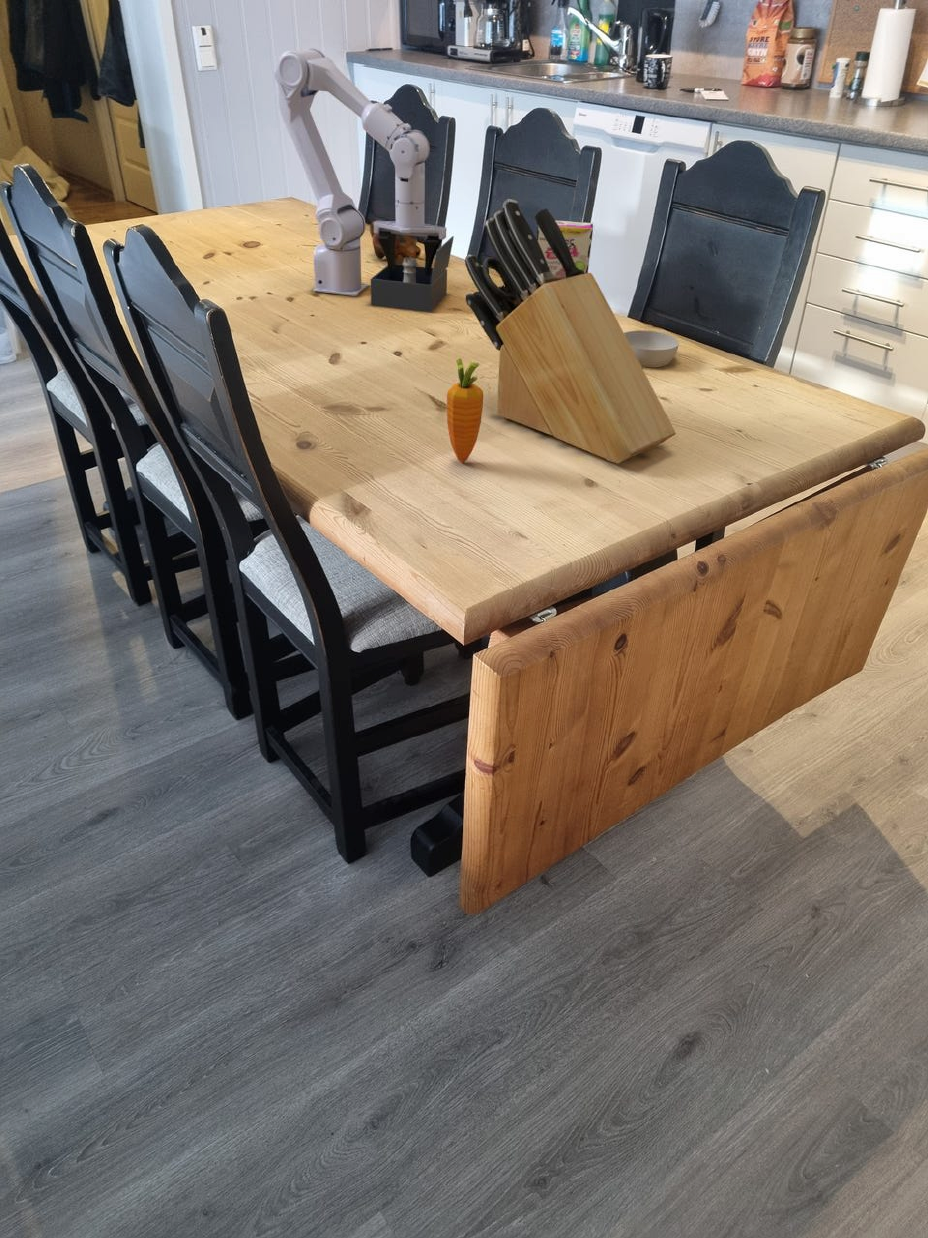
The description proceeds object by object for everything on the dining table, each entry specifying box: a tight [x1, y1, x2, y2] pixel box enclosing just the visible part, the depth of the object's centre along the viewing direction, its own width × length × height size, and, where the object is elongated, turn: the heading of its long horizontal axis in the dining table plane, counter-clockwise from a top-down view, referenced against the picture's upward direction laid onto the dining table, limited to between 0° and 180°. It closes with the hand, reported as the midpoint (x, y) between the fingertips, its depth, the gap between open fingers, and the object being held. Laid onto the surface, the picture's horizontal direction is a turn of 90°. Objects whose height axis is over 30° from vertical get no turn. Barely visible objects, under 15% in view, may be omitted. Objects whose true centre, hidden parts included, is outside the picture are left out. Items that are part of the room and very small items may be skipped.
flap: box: [431, 235, 455, 282], centre depth 187 cm, size 6×12×1 cm
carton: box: [370, 263, 448, 313], centre depth 192 cm, size 13×13×5 cm
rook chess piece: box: [401, 257, 419, 284], centre depth 191 cm, size 4×4×8 cm
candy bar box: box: [536, 219, 594, 279], centre depth 189 cm, size 11×5×16 cm, turn 84°
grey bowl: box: [623, 329, 680, 368], centre depth 169 cm, size 11×18×4 cm, turn 65°
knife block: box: [464, 198, 676, 464], centre depth 135 cm, size 11×35×31 cm, turn 45°
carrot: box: [446, 357, 484, 464], centre depth 127 cm, size 5×5×15 cm
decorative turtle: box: [369, 219, 422, 262], centre depth 216 cm, size 10×15×8 cm, turn 54°
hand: (409, 272), depth 190 cm, fingers open, 7 cm apart
